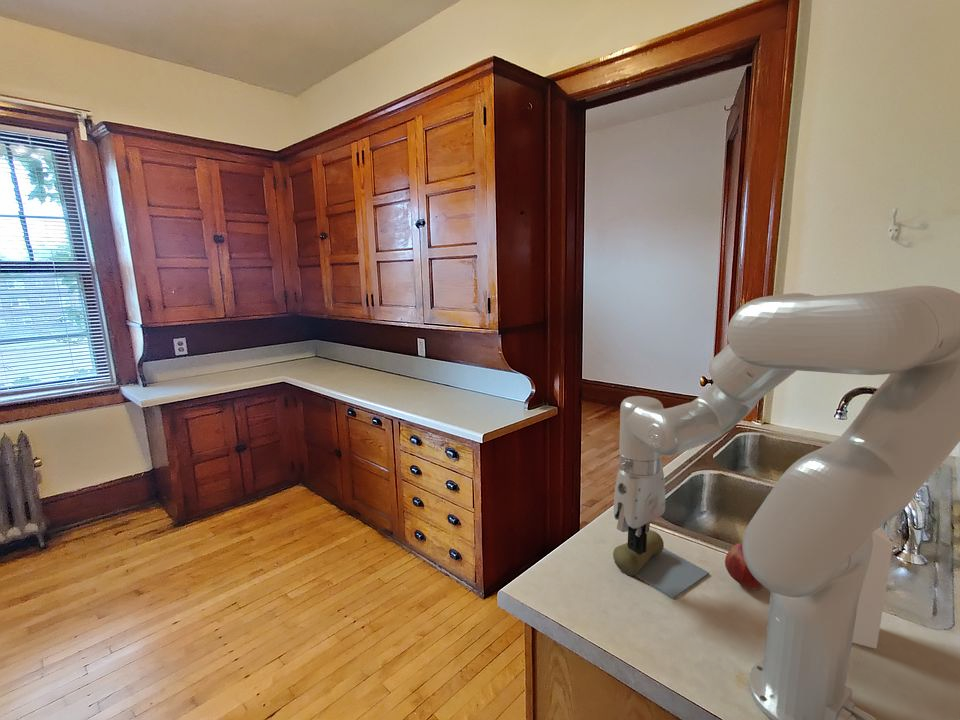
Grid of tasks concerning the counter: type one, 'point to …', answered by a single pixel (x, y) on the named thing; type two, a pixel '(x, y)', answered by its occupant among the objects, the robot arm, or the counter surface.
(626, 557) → the olive brown rounded cylinder
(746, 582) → the fruit
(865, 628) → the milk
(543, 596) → the counter surface
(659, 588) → the grey mat
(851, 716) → the robot arm
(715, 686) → the counter surface
